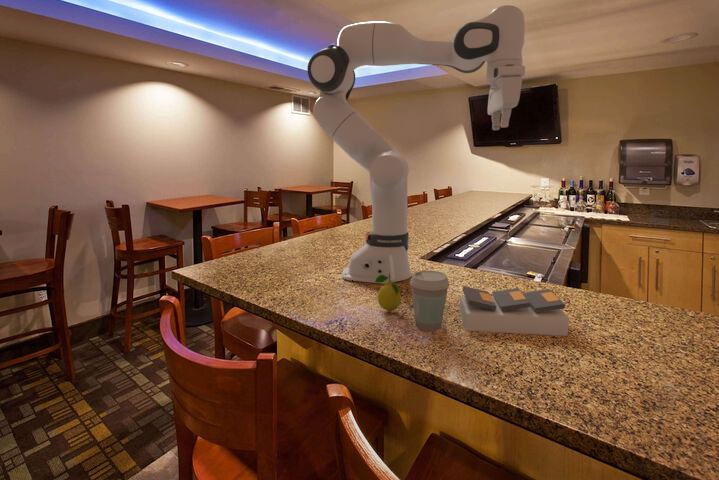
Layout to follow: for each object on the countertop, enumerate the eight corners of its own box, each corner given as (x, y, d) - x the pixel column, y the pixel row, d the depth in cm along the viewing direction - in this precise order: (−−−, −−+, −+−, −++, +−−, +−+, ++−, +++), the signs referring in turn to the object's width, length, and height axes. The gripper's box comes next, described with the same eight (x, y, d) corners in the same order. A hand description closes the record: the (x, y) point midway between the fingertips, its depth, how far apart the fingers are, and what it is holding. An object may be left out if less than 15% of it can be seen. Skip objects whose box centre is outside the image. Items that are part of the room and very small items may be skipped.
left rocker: (467, 304, 81) (469, 299, 81) (462, 289, 90) (463, 285, 89) (495, 310, 80) (496, 306, 80) (487, 295, 89) (488, 291, 89)
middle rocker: (501, 311, 80) (501, 306, 80) (492, 295, 89) (492, 291, 89) (530, 306, 79) (529, 302, 79) (518, 291, 88) (518, 287, 88)
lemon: (375, 307, 94) (374, 269, 92) (397, 306, 95) (398, 268, 92) (378, 318, 88) (378, 278, 85) (402, 316, 88) (403, 277, 86)
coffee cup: (419, 314, 89) (420, 267, 87) (453, 323, 84) (455, 273, 82) (402, 328, 82) (403, 277, 80) (438, 338, 78) (440, 284, 75)
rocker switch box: (465, 330, 81) (466, 313, 80) (459, 310, 91) (460, 295, 91) (567, 335, 78) (569, 318, 77) (548, 314, 88) (550, 298, 88)
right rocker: (535, 312, 79) (534, 307, 79) (523, 296, 88) (522, 292, 88) (565, 308, 78) (564, 303, 78) (549, 292, 87) (549, 288, 87)
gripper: (483, 83, 109) (481, 131, 112) (500, 66, 89) (496, 125, 92) (506, 82, 108) (502, 131, 111) (527, 65, 89) (522, 125, 92)
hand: (499, 128), depth 102 cm, fingers open, 8 cm apart
